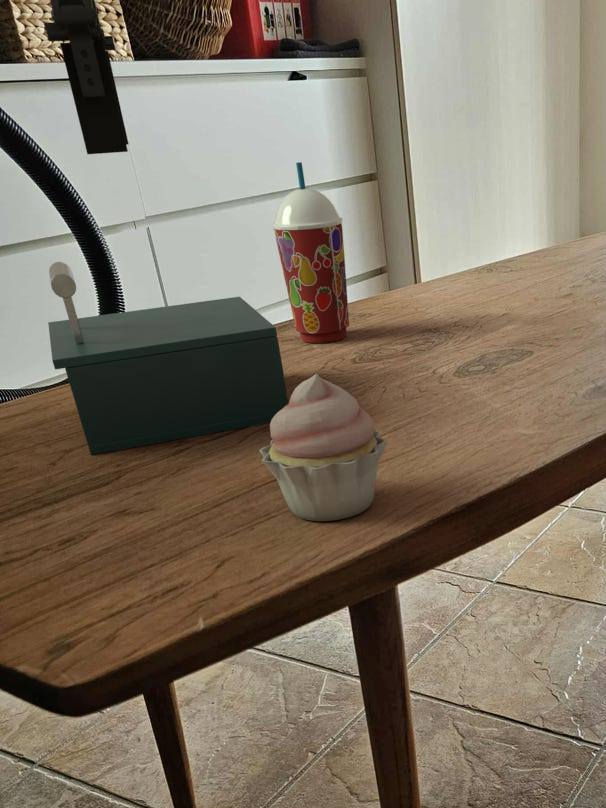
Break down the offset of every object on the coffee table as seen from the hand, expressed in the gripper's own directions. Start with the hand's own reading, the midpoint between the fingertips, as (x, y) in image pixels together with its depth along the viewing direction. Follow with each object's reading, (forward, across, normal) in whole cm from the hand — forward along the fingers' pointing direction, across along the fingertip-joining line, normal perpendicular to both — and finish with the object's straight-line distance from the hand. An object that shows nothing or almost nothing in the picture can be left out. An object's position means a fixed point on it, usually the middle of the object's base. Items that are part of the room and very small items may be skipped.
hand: (110, 149), depth 69 cm
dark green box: (+24, +12, -1) cm, 27 cm away
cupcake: (+24, -19, -11) cm, 33 cm away
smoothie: (+24, +36, -20) cm, 47 cm away
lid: (+16, +12, 0) cm, 20 cm away
